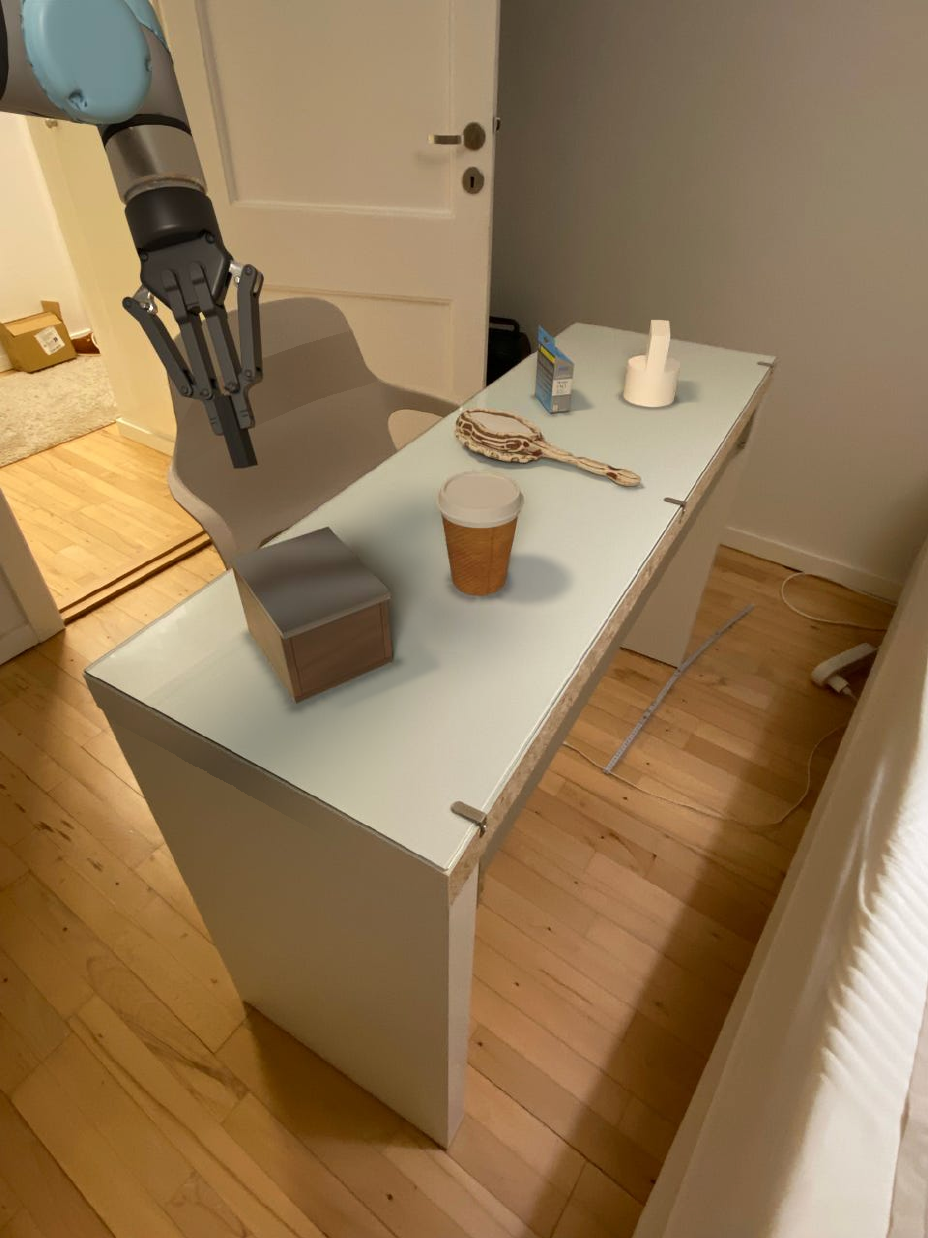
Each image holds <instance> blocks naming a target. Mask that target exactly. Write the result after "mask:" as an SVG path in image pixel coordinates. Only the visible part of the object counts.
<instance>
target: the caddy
mask: <svg viewBox="0 0 928 1238" xmlns="http://www.w3.org/2000/svg"><path fill="white" fill-rule="evenodd" d="M231 570H232V572H233V576H234V579H235V583H236V587H237V591H238V595H239V599H240V603H241V606H242V610H243V613H244V618H245V621H246V624H247V627H248V631H249V634H250V635H251V637H252V638H253V640H254V642H255V643H256V644H257V645H256V646H258V648H259V649H260V651H261V652H262V653H263V656H264V657H265V659H266V660H267V661H268V663H269V664H270V666H271V668H272V669H273V671H274V672H275V674H276V675H277V677H278V679H279V680H280V681H281V683H282V684H283V686H284V687H285V689H286V691H287V692H288V694H289V696H290V697H291V698H292V700H293V701H294V703H295V704H299V703H301V702H303V701H306V700H308V699H310V698H312V697H314V696H317V695H319V694H321V693H324V692H325V691H329V690H330V689H332V688H335V687H337V686H340V685H342V684H344V683H346V682H349V681H352V680H353V679H356V678H359V677H360V676H363V675H365V674H367V673H369V672H372V671H374V670H377V669H379V668H380V667H384V666H385V665H388V664H390V663H393V661H394V660H393V648H392V639H391V628H390V627H391V626H390V617H389V616H390V615H389V608H388V599H387V600H385V601H382V602H380V603H377V604H374V605H372V606H369V607H367V608H364V609H362V610H359V611H357V612H354V613H351V614H349V615H346V616H344V617H341V618H339V619H336V620H334V621H331V622H328V623H326V624H323V625H321V626H318V627H316V628H313V629H310V630H308V631H305V632H303V633H300V634H298V635H295V636H293V637H290V638H287V639H285V640H284V639H283V638H282V636H281V635H280V634H279V632H278V631H277V629H276V628H275V626H274V625H273V624H272V622H271V621H270V619H269V618H268V616H267V615H266V613H265V612H264V611H263V609H262V608H261V606H260V605H259V603H258V602H257V601H256V599H255V598H254V596H253V595H252V593H251V592H250V591H249V589H248V588H247V586H246V585H245V583H244V582H243V581H242V579H241V578H240V576H239V575H238V573H237V572H236V571H235V569H234V568H233V566H232V565H231Z"/></svg>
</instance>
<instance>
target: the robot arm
mask: <svg viewBox="0 0 928 1238" xmlns="http://www.w3.org/2000/svg"><path fill="white" fill-rule="evenodd" d="M165 36H166V35H165V34H164V31H163V28H162V25H161V22H160V20H159V17H158V15H157V12H156V10H155V8H154V6H153V5H152V3H151V2H150V0H0V113H1V112H2V113H8V114H13V115H14V114H15V115H20V116H28V117H36V118H44V119H51V120H58V121H65V122H70V123H74V124H81V125H83V124H84V125H90V126H94V127H96V129H97V131H98V134H99V137H100V140H101V143H102V147H103V149H104V151H105V154H106V157H107V161H108V164H109V167H110V171H111V174H112V177H113V181H114V184H115V187H116V191H117V194H118V198H119V200H120V202H121V203H122V204H123V205H124V206H125V207H124V209H123V210H124V216H125V219H126V222H127V225H128V229H129V233H130V236H131V239H132V242H133V244H134V248H135V250H136V254H137V257H138V259H139V261H140V271H139V280H140V283H141V285H140V286H139V287H138V289H137V290H136V291H135V293H134V294H133V296H132V297H131V296H125V297H123V299H122V300H121V305H122V308H123V309H124V310H125V311H126V312H127V313H128V314H130V316H132V318H134V319H135V320H136V321H137V322H138V323H139V325H140V326H141V328H142V330H143V332H144V334H145V336H146V337H147V339H148V340H149V342H150V344H151V346H152V348H153V349H154V351H155V353H156V354H157V356H158V358H159V360H160V362H161V363H162V366H163V367H164V369H165V371H166V372H167V374H168V376H169V378H170V379H171V381H172V383H173V385H174V386H175V388H176V390H177V391H178V394H179V395H180V396H181V397H184V398H188V399H192V400H199V401H201V402H202V403H203V405H204V408H205V412H206V414H207V418H208V420H209V424H210V427H211V431H212V432H213V434H214V435H215V436H218V437H219V436H220V437H222V436H223V437H224V440H225V443H226V447H227V450H228V453H229V457H230V461H231V463H232V467H233V469H234V470H235V469H236V470H237V469H247V468H251V467H254V466H259V462H258V459H257V456H256V452H255V449H254V446H253V443H252V438H251V435H250V432H249V430H250V429H255V428H256V423H257V421H256V418H255V414H254V411H253V408H252V405H251V401H250V398H249V391H250V389H251V388H253V387H254V386H256V385H257V384H261V383H262V382H263V380H264V366H263V351H262V333H261V332H262V331H261V320H260V319H261V317H260V316H261V315H260V314H261V313H260V300H259V299H260V296H261V292H262V288H263V286H264V281H265V277H264V274H263V272H262V271H260V270H259V269H258V268H257V267H255V266H254V265H252V264H251V263H246V264H243V263H241V262H238V261H236V260H235V259H234V257H233V254H232V253H231V252H230V251H229V250H228V249H227V247H226V245H225V244H224V240H223V236H222V232H221V229H220V225H219V222H218V218H217V215H216V212H215V207H214V204H213V201H212V199H211V198H210V197H209V196H208V192H209V189H208V184H207V181H206V177H205V173H204V170H203V167H202V166H203V165H202V163H201V159H200V156H199V152H198V148H197V144H196V141H195V140H194V136H193V132H192V127H191V124H190V121H189V118H188V114H187V110H186V107H185V103H184V99H183V96H182V93H181V89H180V85H179V82H178V78H177V75H176V71H175V61H174V58H173V55H172V52H171V50H170V47H169V46H168V43H167V39H166V37H165ZM232 278H233V279H232ZM232 280H233V285H234V286H235V287H236V290H237V291H236V300H237V318H238V334H239V348H240V349H239V350H240V358H239V355H238V350H237V347H236V345H235V341H234V338H233V337H234V336H233V334H232V330H231V327H230V325H229V320H228V319H229V315H228V312H227V308H226V304H225V301H226V298H227V294H228V291H229V288H230V285H231V282H232ZM155 298H156V299H157V300H158V301H159V302H161V303H162V304H163V305H164V306H165V307H166V308H168V309H169V310H170V311H171V313H172V316H173V318H174V321H175V322H176V324H177V326H178V328H179V332H180V335H181V336H180V337H181V338H182V342H183V345H184V349H185V351H186V355H187V358H188V361H189V365H190V368H191V369H190V368H189V366H188V364H187V362H186V361H185V359H184V357H183V355H182V353H181V351H180V350H179V348H178V346H177V344H176V343H175V341H174V339H173V337H172V336H171V333H170V332H169V330H168V328H167V327H166V324H165V323H164V321H163V320H162V319H161V318H160V317H159V315H158V313H159V309H158V305H157V304H156V302H155ZM201 314H202V316H203V318H204V320H205V322H206V326H207V329H208V332H209V333H208V334H209V336H210V339H211V342H212V346H213V349H214V353H215V356H216V358H217V362H218V365H219V369H220V373H221V377H222V379H223V383H224V385H225V386H223V389H224V391H225V392H228V393H229V394H225V393H222V392H221V388H220V384H219V381H218V377H217V375H216V371H215V368H214V364H213V361H212V358H211V357H212V356H211V354H210V351H209V347H208V343H207V340H206V338H205V337H206V336H205V333H204V330H203V321H202V317H201Z"/></svg>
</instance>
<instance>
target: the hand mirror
mask: <svg viewBox="0 0 928 1238" xmlns="http://www.w3.org/2000/svg"><path fill="white" fill-rule="evenodd" d="M453 434H454V436H455V438H457V439H458V441H459V443H460V444H462V445H463V446H465V447H467V448H469V450H471V451H472V452H475V453H478V454H482V455H483V456H485V457H488V458H491V459H495V460H500V461H503V462H518V463H520V464H521V463H523V464H524V463H528V462H529V461H537V460H540V458H549V459H553V460H558V461H560V462H564V463H571V464H574V465H577V466H578V467H579V468H580V469H583V470H586V471H588V472H591V473H594V474H596V475H602V476H605V477H607V478H609V479H611V480H612V481H613V482H614V483H615V484H618V485H621V486H626V487H633V486H634V487H635V486H639V484H640V483H641V481H642V478H641V476H640V475H638V474H637V473H636V472H634V471H632V470H629V469H626V468H617V467H613V466H611V465H610V464H608V463H604V462H601V461H597V460H594V459H590V458H588V457H586V456H575V455H574V454H573V453H572V452H570V451H566V450H564V449H562V448H559V447H558V446H557V445H555V444H553V443H551V442H547V441H546V440H545V437H544V435H543V434H542V431H541V430H540V428H539V427H538V426H537V425H535V424H533V423H531V422H530V421H529V420H528V419H525V418H524V417H522V416H521V415H518V414H515V413H511V412H509V411H504V410H497V409H491V408H484V407H478V406H477V407H475V406H474V407H470V408H469V409H467V410H464V411H463V412H461V413H460V414H459V416H458V417H457V419H456V420H455V429H454V431H453Z"/></svg>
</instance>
